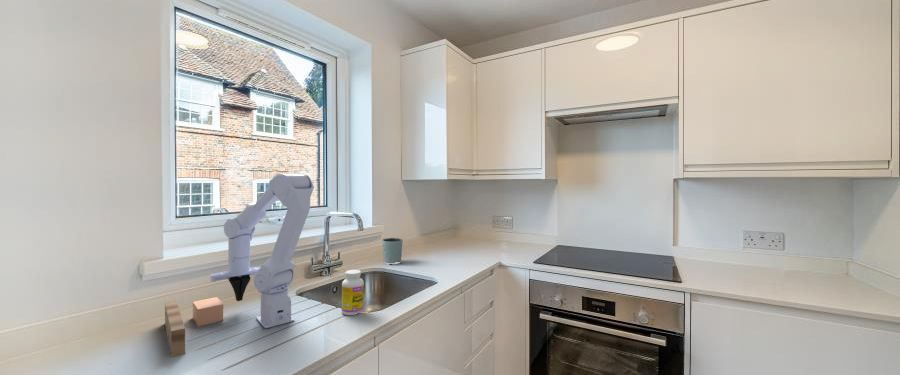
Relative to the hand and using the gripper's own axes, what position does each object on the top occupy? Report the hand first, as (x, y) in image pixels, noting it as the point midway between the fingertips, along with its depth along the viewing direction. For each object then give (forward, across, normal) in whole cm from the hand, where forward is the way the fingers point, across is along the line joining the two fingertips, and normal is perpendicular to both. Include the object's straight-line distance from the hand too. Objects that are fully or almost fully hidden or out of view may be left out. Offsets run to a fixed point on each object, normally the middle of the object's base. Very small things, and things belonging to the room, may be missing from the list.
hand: (239, 300), depth 104 cm
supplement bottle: (+4, -27, +23) cm, 35 cm away
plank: (+4, +16, +8) cm, 18 cm away
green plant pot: (+4, -70, -21) cm, 74 cm away
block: (+4, +8, 0) cm, 9 cm away
